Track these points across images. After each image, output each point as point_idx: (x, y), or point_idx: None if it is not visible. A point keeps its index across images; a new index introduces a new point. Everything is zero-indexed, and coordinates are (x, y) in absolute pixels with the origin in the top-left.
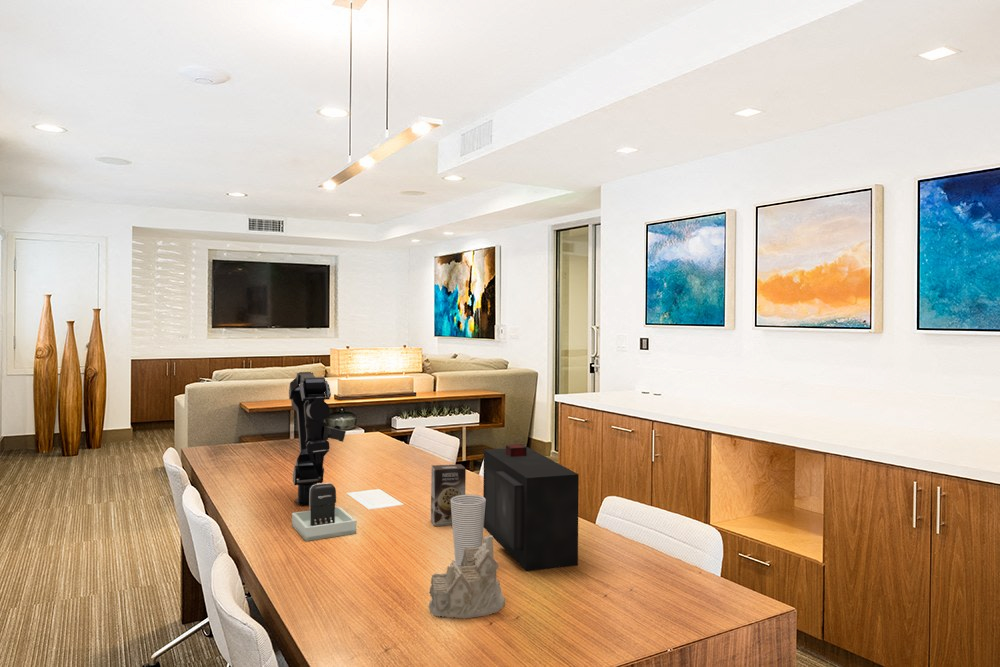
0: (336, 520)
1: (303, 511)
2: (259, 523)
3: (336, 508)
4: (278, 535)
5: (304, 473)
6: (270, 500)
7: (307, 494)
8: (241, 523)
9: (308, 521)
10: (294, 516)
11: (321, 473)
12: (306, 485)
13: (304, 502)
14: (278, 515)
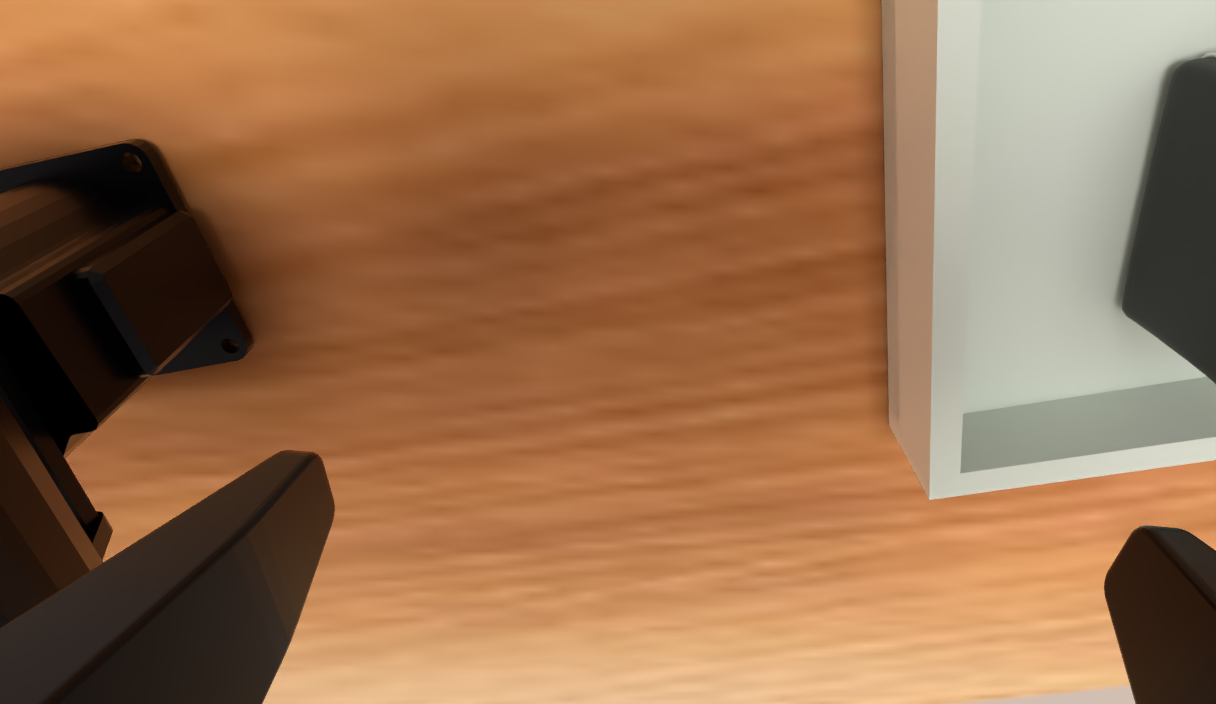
0: (1118, 11)
1: (934, 404)
2: (722, 610)
3: (977, 2)
4: (1106, 512)
5: (44, 576)
6: None
7: (177, 333)
8: (677, 690)
9: (971, 315)
10: (1043, 478)
11: (1192, 545)
12: (88, 404)
13: (216, 317)
14: (543, 505)
